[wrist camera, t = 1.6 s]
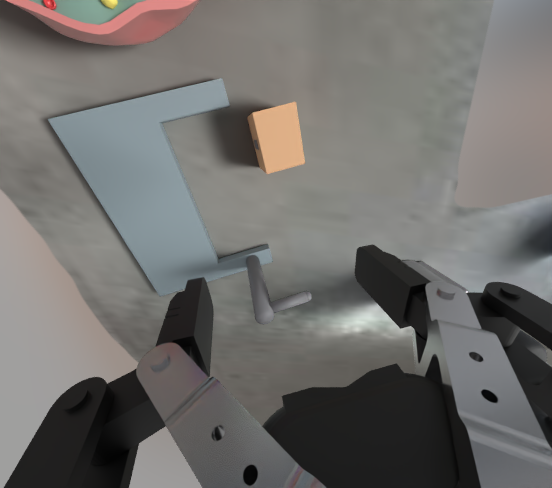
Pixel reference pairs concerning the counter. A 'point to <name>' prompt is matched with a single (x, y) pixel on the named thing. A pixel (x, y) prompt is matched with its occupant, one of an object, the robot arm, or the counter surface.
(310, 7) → the counter surface
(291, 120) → the tan wooden brick
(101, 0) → the cell model
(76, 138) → the screw clamp
